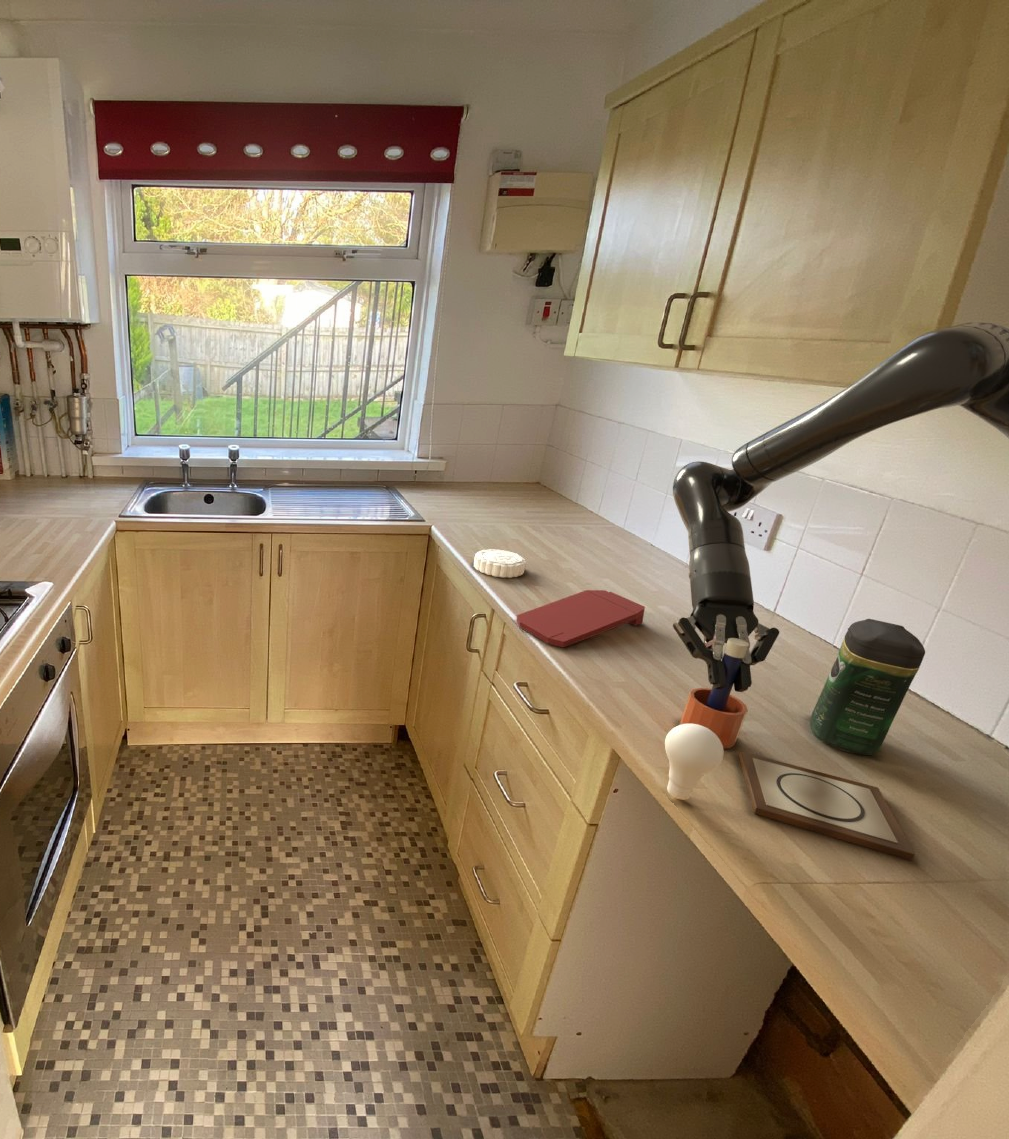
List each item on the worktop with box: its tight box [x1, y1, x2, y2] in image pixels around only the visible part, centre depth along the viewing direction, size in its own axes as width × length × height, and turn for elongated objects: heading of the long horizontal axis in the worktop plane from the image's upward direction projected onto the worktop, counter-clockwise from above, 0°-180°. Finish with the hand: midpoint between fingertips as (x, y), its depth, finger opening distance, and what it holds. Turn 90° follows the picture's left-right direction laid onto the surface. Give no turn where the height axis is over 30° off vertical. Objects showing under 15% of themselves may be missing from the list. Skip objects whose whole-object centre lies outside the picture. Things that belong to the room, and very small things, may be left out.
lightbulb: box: [664, 724, 725, 801], centre depth 80 cm, size 6×6×11 cm
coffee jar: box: [809, 618, 926, 756], centre depth 91 cm, size 10×8×19 cm
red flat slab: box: [516, 589, 646, 648], centre depth 128 cm, size 12×5×25 cm
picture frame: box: [738, 751, 916, 861], centre depth 81 cm, size 15×13×1 cm
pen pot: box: [679, 687, 749, 750], centre depth 94 cm, size 7×7×6 cm
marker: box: [706, 638, 749, 712], centre depth 91 cm, size 2×2×12 cm
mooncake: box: [473, 548, 527, 579], centre depth 157 cm, size 12×12×4 cm
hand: (730, 688), depth 90 cm, fingers closed on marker, 2 cm apart
